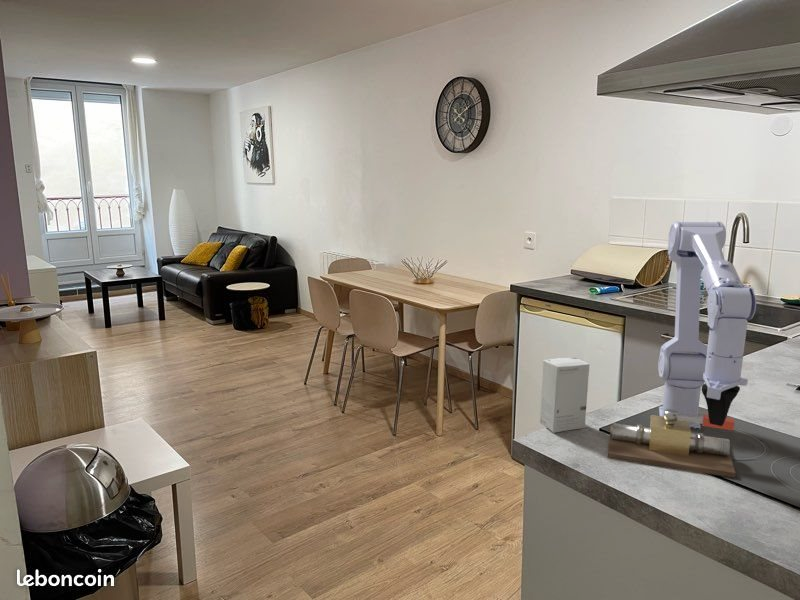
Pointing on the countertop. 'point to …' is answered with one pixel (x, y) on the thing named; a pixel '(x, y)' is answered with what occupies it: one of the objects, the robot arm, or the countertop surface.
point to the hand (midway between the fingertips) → (716, 423)
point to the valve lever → (697, 419)
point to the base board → (671, 458)
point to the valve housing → (671, 437)
